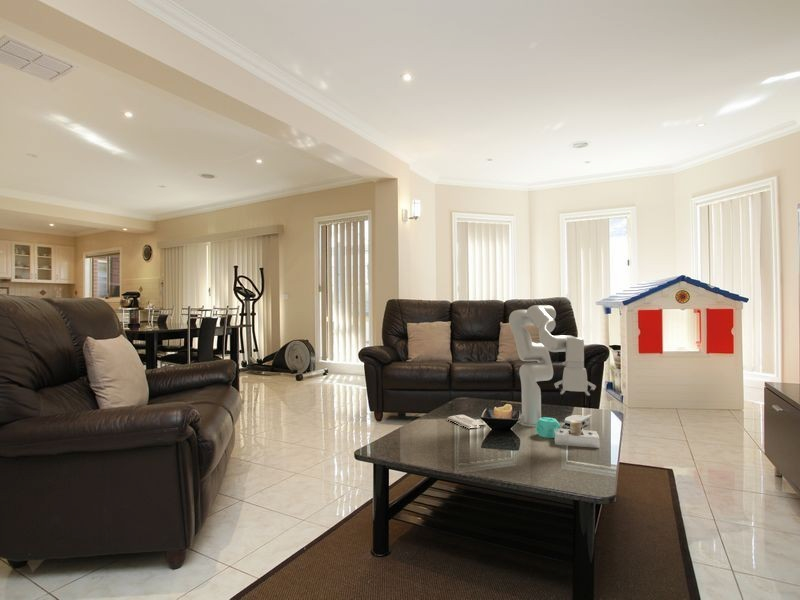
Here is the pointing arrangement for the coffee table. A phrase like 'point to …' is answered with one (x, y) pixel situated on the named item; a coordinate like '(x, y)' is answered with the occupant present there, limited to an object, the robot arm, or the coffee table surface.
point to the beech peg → (575, 427)
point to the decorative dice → (546, 427)
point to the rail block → (576, 438)
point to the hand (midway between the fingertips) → (574, 403)
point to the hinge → (583, 419)
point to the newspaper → (466, 421)
